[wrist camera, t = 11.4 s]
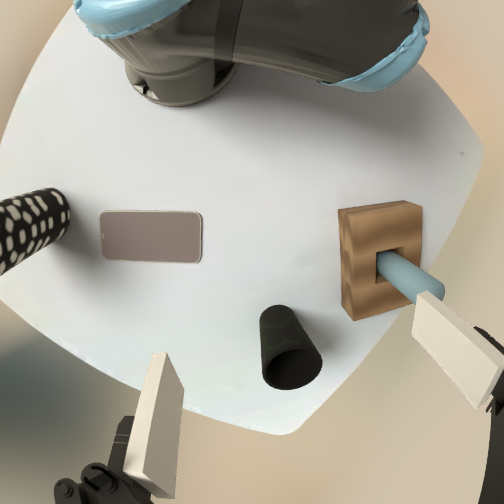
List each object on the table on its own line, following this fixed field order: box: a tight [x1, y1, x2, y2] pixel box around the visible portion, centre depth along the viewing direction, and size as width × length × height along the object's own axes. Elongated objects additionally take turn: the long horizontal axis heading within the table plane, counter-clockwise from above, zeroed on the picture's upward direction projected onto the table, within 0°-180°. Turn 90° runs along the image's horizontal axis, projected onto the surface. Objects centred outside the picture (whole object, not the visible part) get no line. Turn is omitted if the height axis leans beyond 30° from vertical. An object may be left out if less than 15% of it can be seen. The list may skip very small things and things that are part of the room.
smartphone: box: [99, 210, 201, 263], centre depth 37 cm, size 7×1×15 cm
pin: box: [376, 249, 445, 305], centre depth 33 cm, size 4×4×14 cm
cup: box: [260, 305, 322, 390], centre depth 37 cm, size 8×8×12 cm
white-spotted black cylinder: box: [0, 188, 70, 276], centre depth 24 cm, size 8×8×20 cm
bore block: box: [338, 200, 422, 321], centre depth 39 cm, size 16×12×5 cm
